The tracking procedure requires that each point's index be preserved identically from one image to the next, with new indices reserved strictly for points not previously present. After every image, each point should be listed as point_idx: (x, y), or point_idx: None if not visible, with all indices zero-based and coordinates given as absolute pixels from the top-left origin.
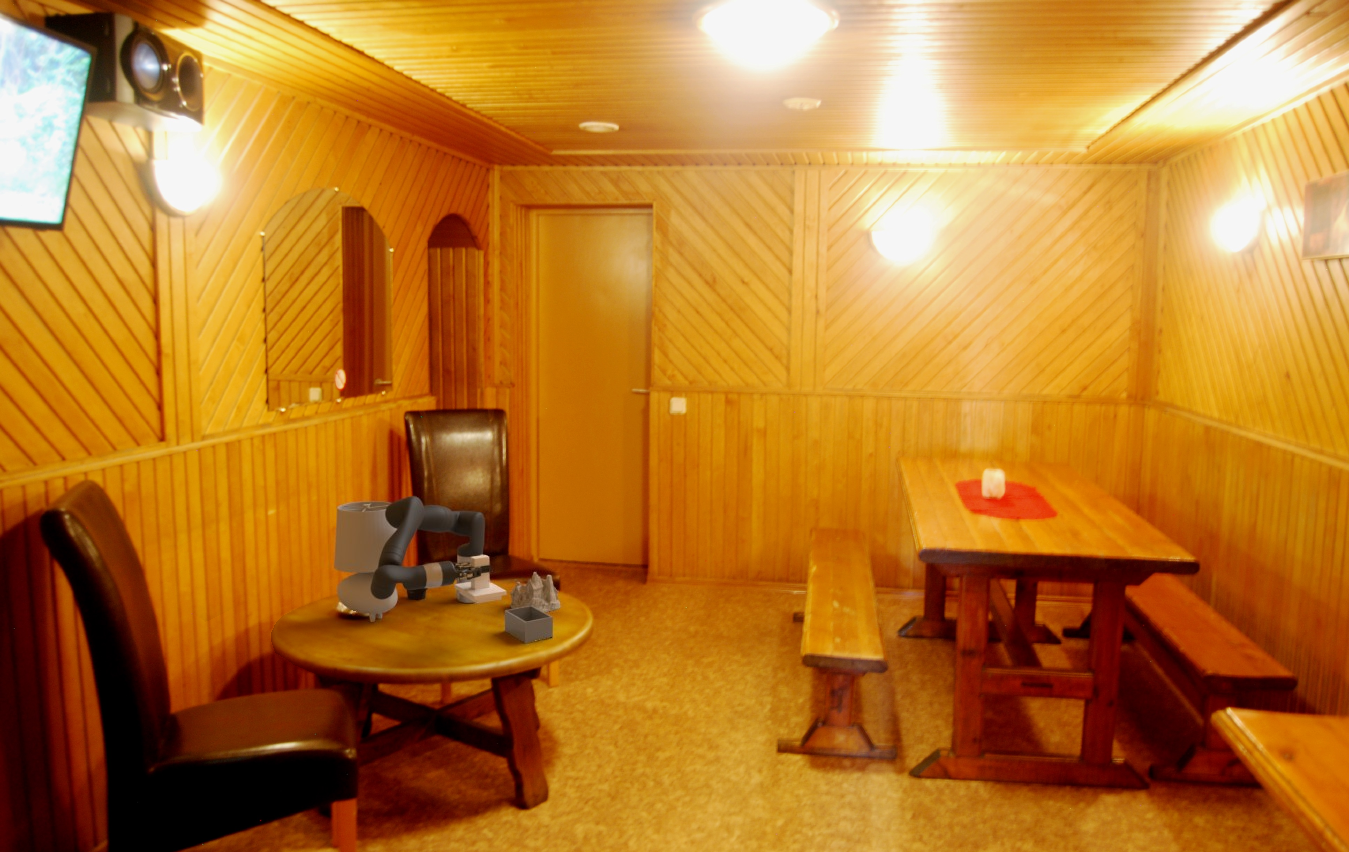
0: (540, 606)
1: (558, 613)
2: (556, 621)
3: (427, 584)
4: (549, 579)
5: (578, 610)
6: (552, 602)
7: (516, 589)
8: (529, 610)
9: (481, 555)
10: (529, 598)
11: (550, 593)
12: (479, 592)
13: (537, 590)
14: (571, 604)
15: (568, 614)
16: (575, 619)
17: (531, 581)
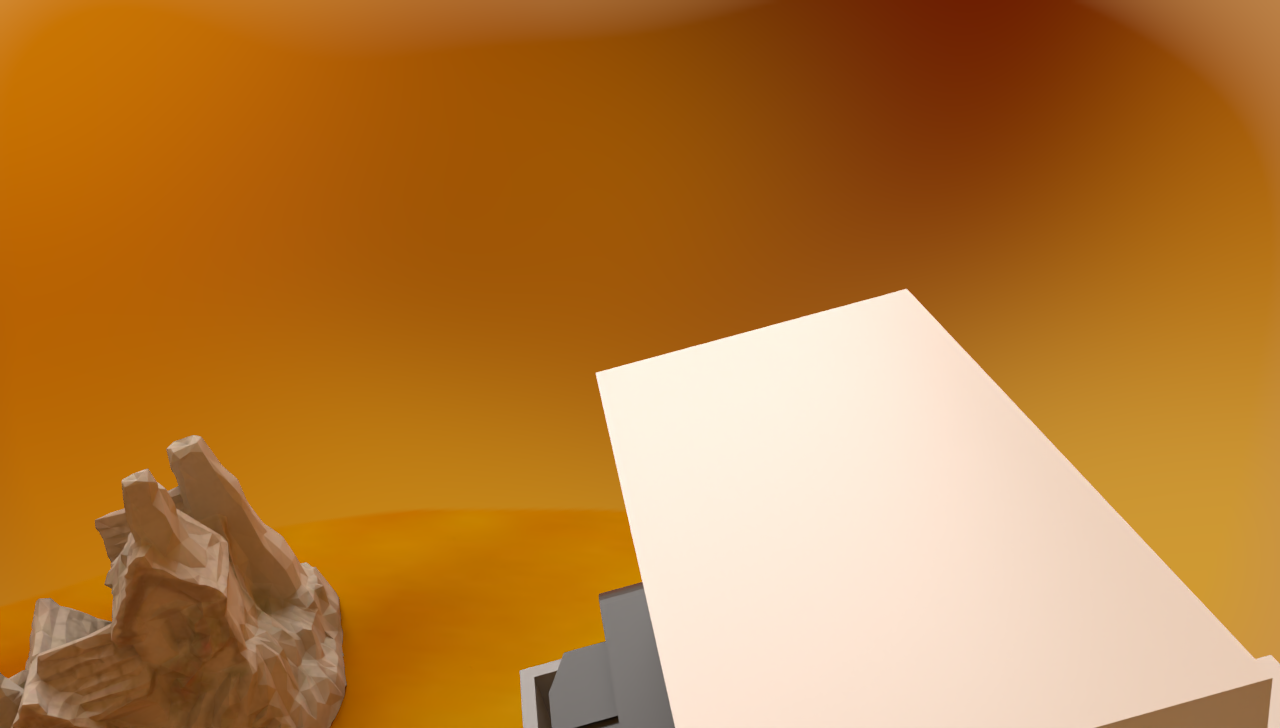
0: (301, 665)
1: (417, 604)
2: (568, 631)
3: None
4: (212, 464)
5: (438, 511)
6: (309, 586)
7: (33, 726)
8: (546, 716)
9: (626, 450)
10: (215, 684)
11: (265, 546)
12: None
13: (228, 586)
14: (312, 531)
15: (473, 559)
16: (589, 536)
17: (157, 561)
